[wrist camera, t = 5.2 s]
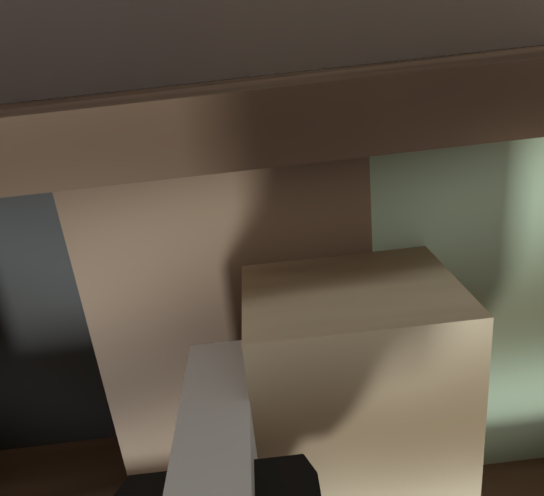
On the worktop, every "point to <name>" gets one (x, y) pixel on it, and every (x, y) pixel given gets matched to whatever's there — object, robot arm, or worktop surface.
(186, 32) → the worktop surface
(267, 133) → the trap track
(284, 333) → the maple block
